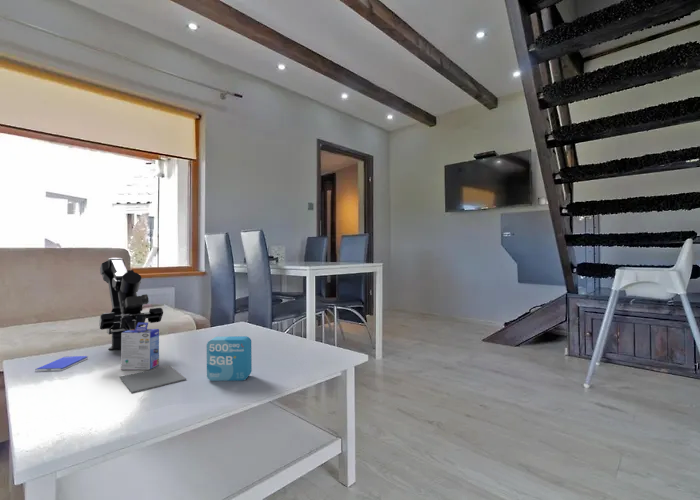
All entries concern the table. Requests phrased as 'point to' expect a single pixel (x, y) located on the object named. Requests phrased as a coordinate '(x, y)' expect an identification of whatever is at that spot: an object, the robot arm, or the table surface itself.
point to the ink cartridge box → (140, 348)
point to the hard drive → (62, 363)
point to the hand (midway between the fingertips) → (136, 337)
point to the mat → (151, 379)
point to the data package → (229, 358)
